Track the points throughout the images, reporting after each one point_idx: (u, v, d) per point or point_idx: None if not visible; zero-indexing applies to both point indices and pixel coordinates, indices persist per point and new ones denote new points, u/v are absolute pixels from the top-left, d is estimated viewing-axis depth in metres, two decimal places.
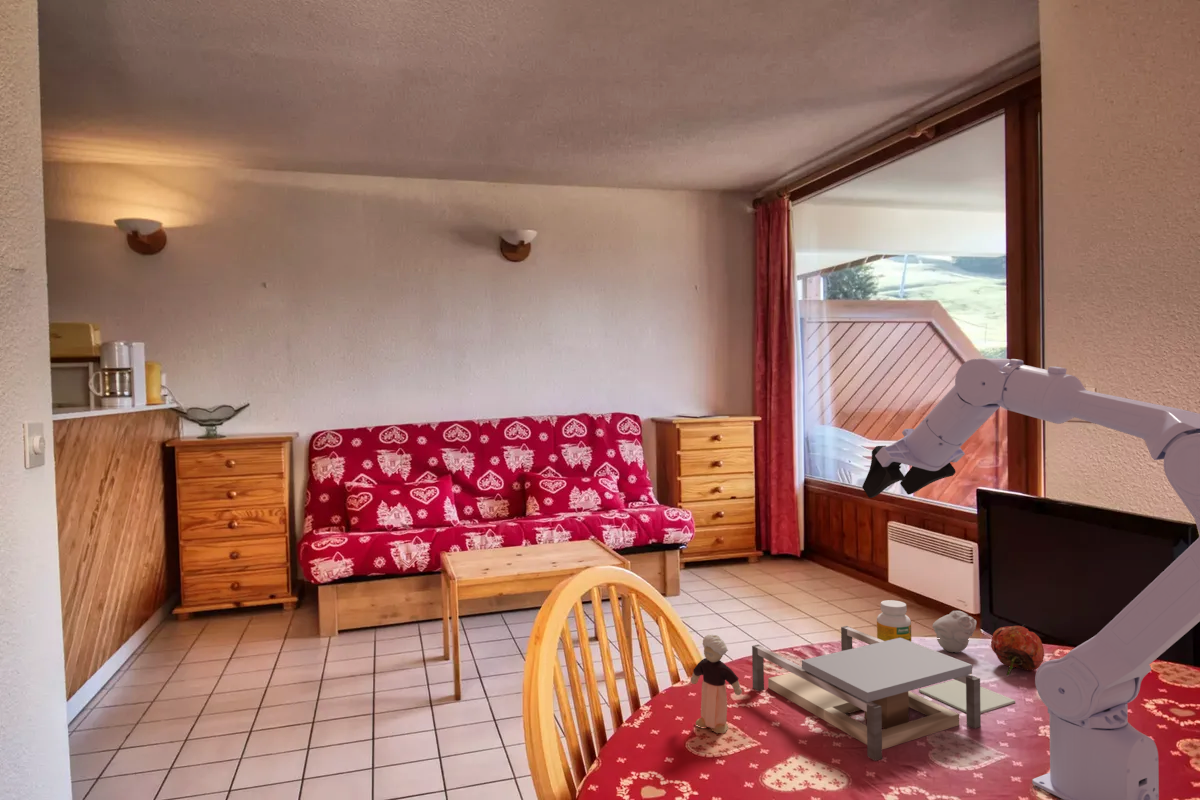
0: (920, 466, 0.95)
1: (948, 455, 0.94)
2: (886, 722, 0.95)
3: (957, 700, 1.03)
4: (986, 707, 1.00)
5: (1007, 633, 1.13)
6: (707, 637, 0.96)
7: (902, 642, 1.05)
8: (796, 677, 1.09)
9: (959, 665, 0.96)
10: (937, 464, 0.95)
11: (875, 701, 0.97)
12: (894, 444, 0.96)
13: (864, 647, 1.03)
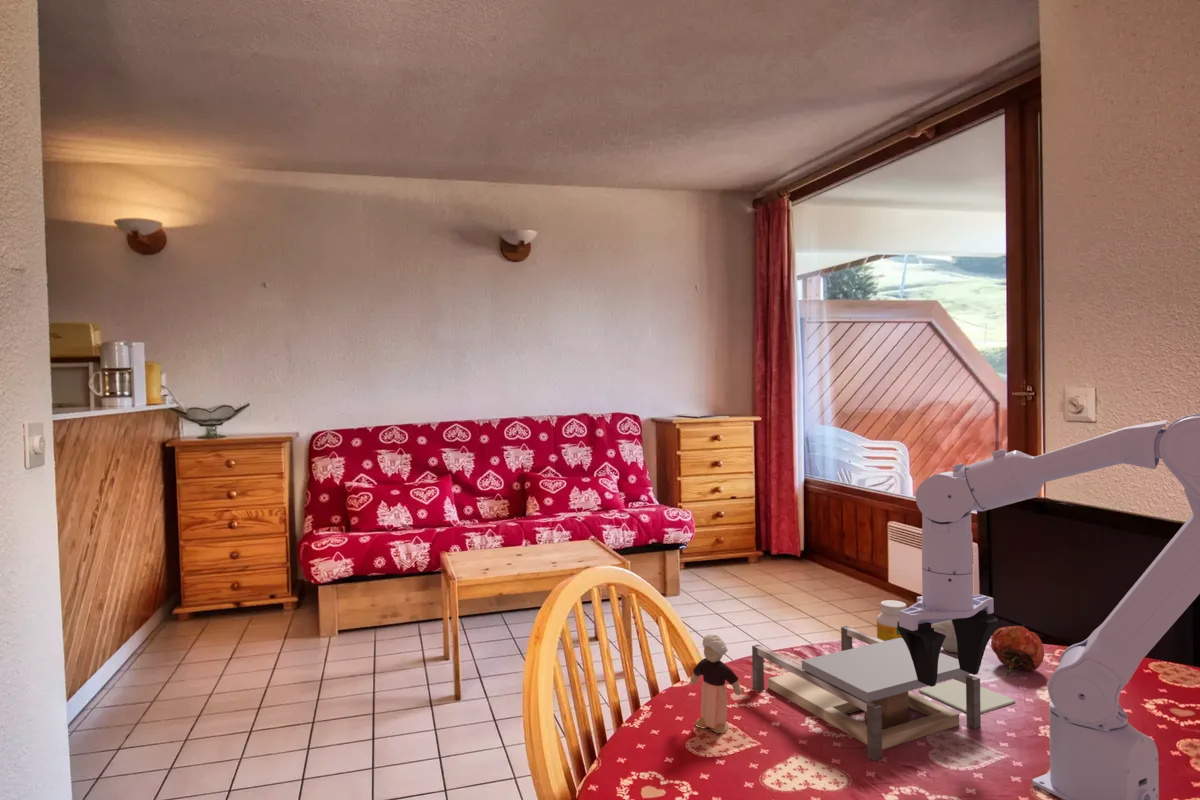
0: (950, 615, 0.85)
1: (967, 591, 0.86)
2: (886, 722, 0.95)
3: (957, 700, 1.03)
4: (986, 707, 1.00)
5: (1007, 633, 1.13)
6: (707, 637, 0.96)
7: (902, 642, 1.05)
8: (796, 677, 1.09)
9: None
10: (965, 607, 0.86)
11: (875, 701, 0.97)
12: (911, 607, 0.88)
13: (864, 647, 1.03)
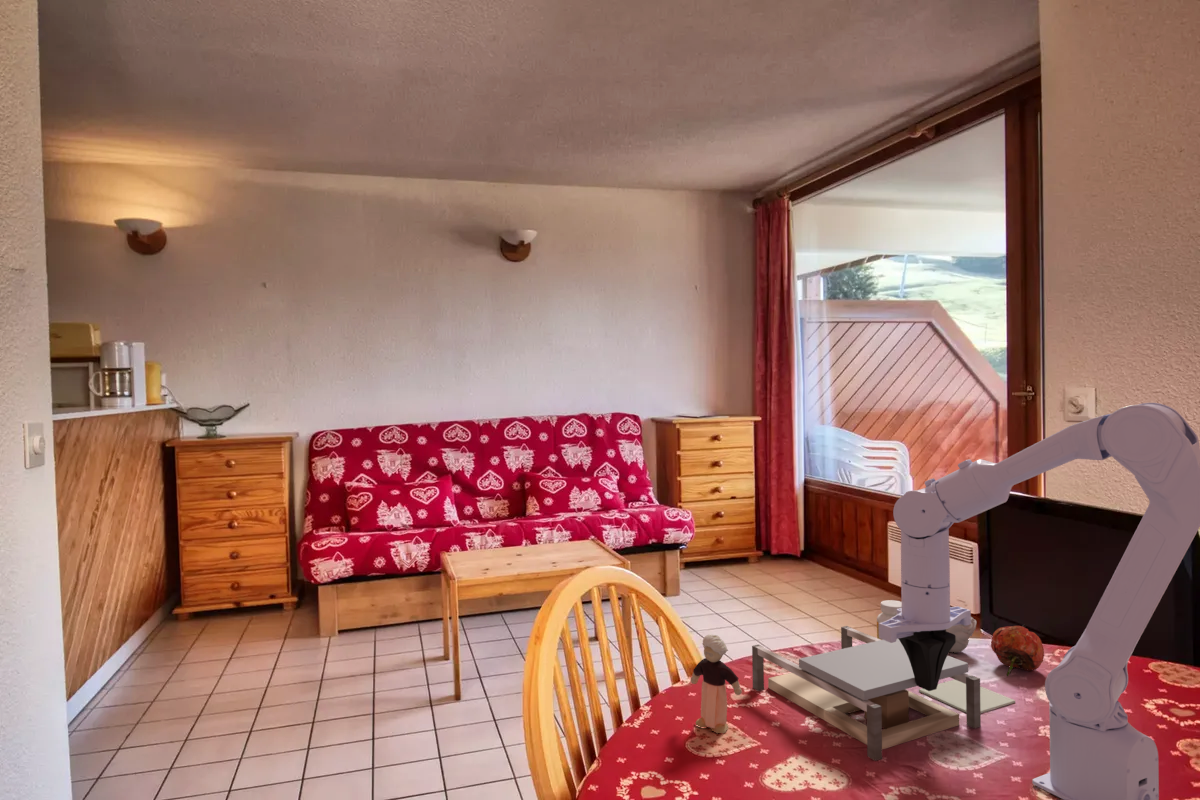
0: (927, 628, 0.88)
1: (944, 604, 0.89)
2: (886, 722, 0.95)
3: (957, 700, 1.03)
4: (986, 707, 1.00)
5: (1007, 633, 1.13)
6: (707, 637, 0.96)
7: (899, 641, 1.06)
8: (796, 677, 1.09)
9: (955, 663, 0.97)
10: (942, 619, 0.89)
11: (875, 701, 0.97)
12: (890, 619, 0.91)
13: (861, 646, 1.04)
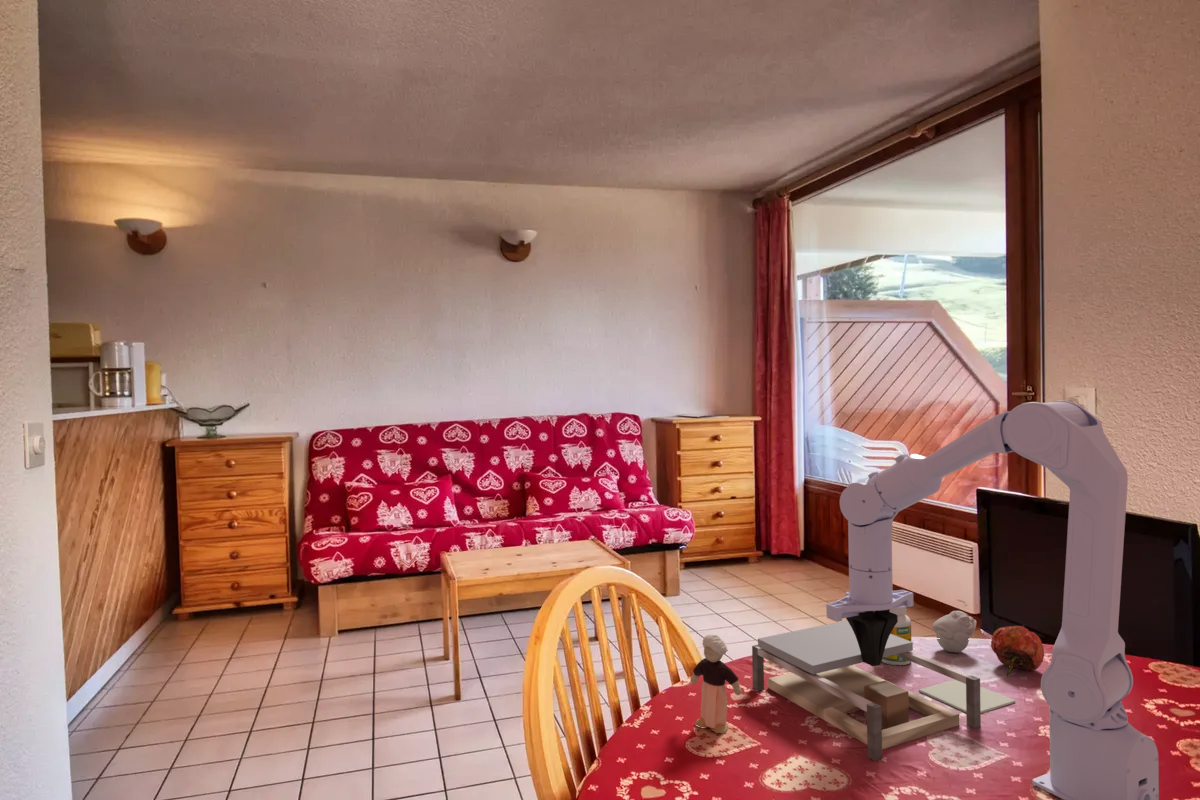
0: (870, 608, 0.97)
1: (886, 586, 0.97)
2: (886, 722, 0.95)
3: (957, 700, 1.03)
4: (986, 707, 1.00)
5: (1007, 633, 1.13)
6: (707, 637, 0.96)
7: None
8: (796, 677, 1.09)
9: (900, 642, 1.05)
10: (884, 600, 0.97)
11: (875, 701, 0.97)
12: (838, 601, 0.99)
13: (817, 627, 1.12)
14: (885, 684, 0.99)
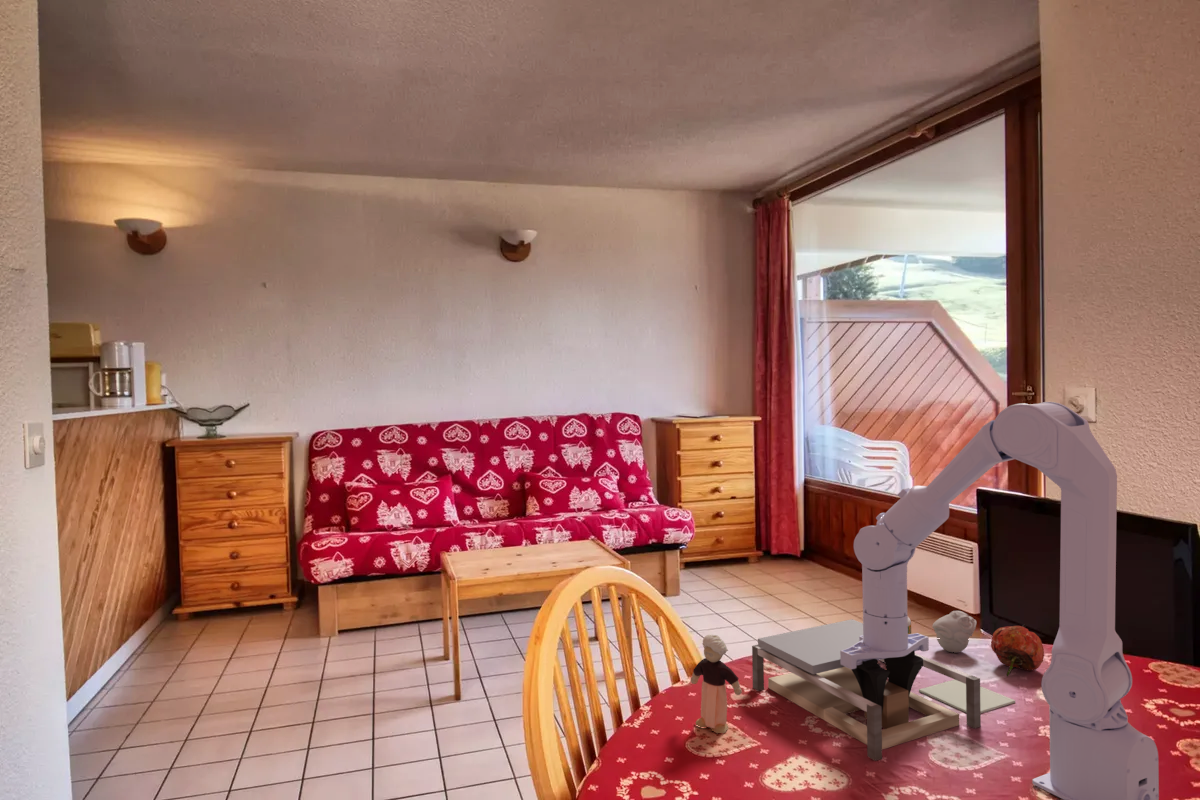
0: (885, 655, 0.94)
1: (902, 632, 0.95)
2: (886, 721, 0.95)
3: (957, 700, 1.03)
4: (986, 707, 1.00)
5: (1007, 633, 1.13)
6: (707, 637, 0.96)
7: (852, 623, 1.14)
8: (796, 677, 1.09)
9: None
10: (900, 647, 0.95)
11: None
12: (852, 646, 0.97)
13: (817, 627, 1.12)
14: None
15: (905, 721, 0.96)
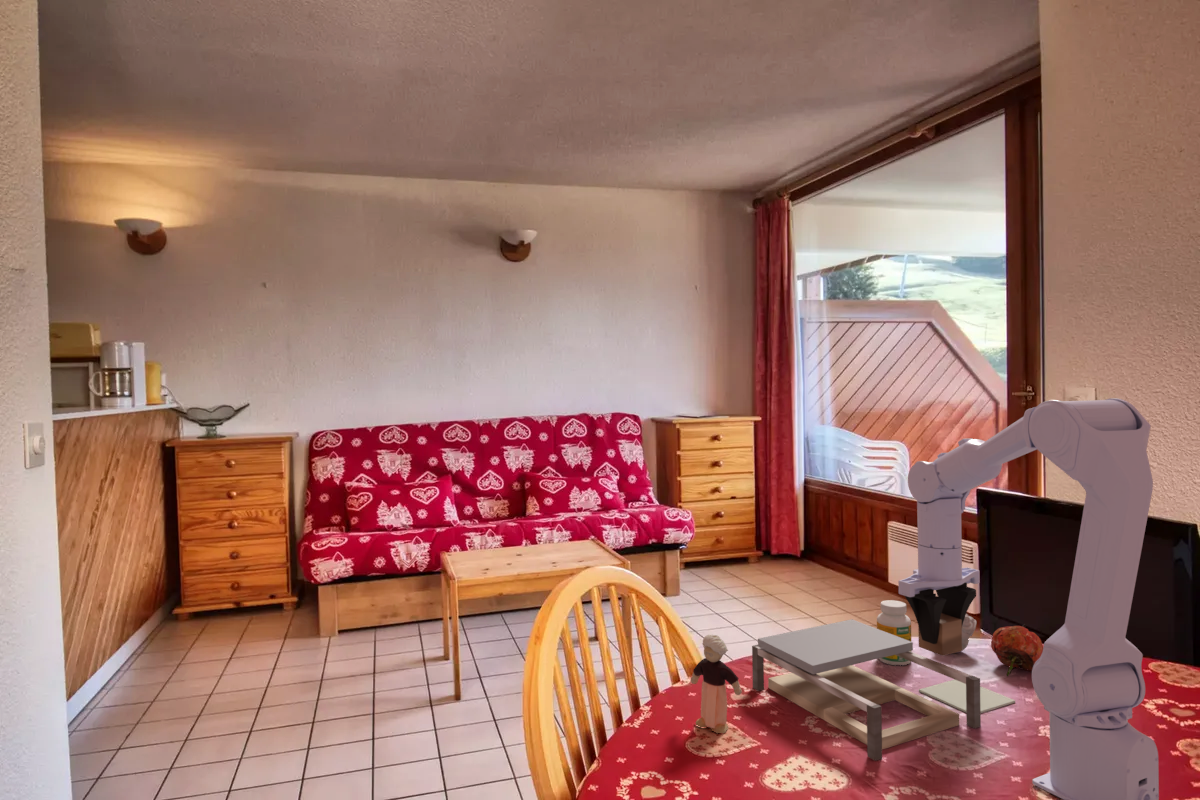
0: (942, 584, 0.99)
1: (957, 563, 0.99)
2: (942, 648, 1.00)
3: (957, 700, 1.03)
4: (986, 707, 1.00)
5: (1007, 633, 1.13)
6: (707, 637, 0.96)
7: (852, 623, 1.14)
8: (796, 677, 1.09)
9: (900, 642, 1.05)
10: (955, 577, 0.99)
11: None
12: (908, 577, 1.01)
13: (817, 627, 1.12)
14: None
15: (958, 648, 1.01)
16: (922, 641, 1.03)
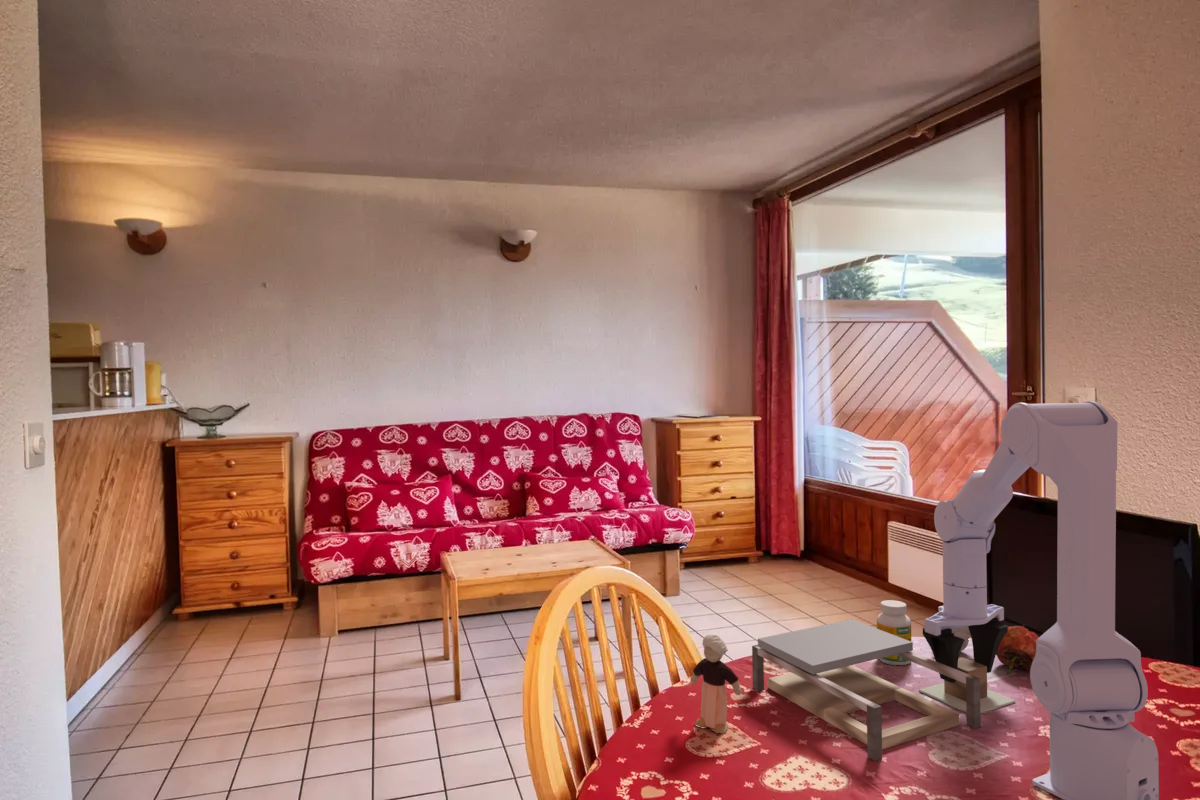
0: (967, 623, 1.01)
1: (982, 602, 1.02)
2: None
3: (957, 700, 1.03)
4: (986, 707, 1.00)
5: (1007, 633, 1.13)
6: (707, 637, 0.96)
7: (852, 623, 1.14)
8: (796, 677, 1.09)
9: (900, 642, 1.05)
10: (980, 615, 1.02)
11: None
12: (934, 615, 1.03)
13: (817, 627, 1.12)
14: (964, 660, 1.06)
15: (984, 695, 1.03)
16: (948, 687, 1.05)
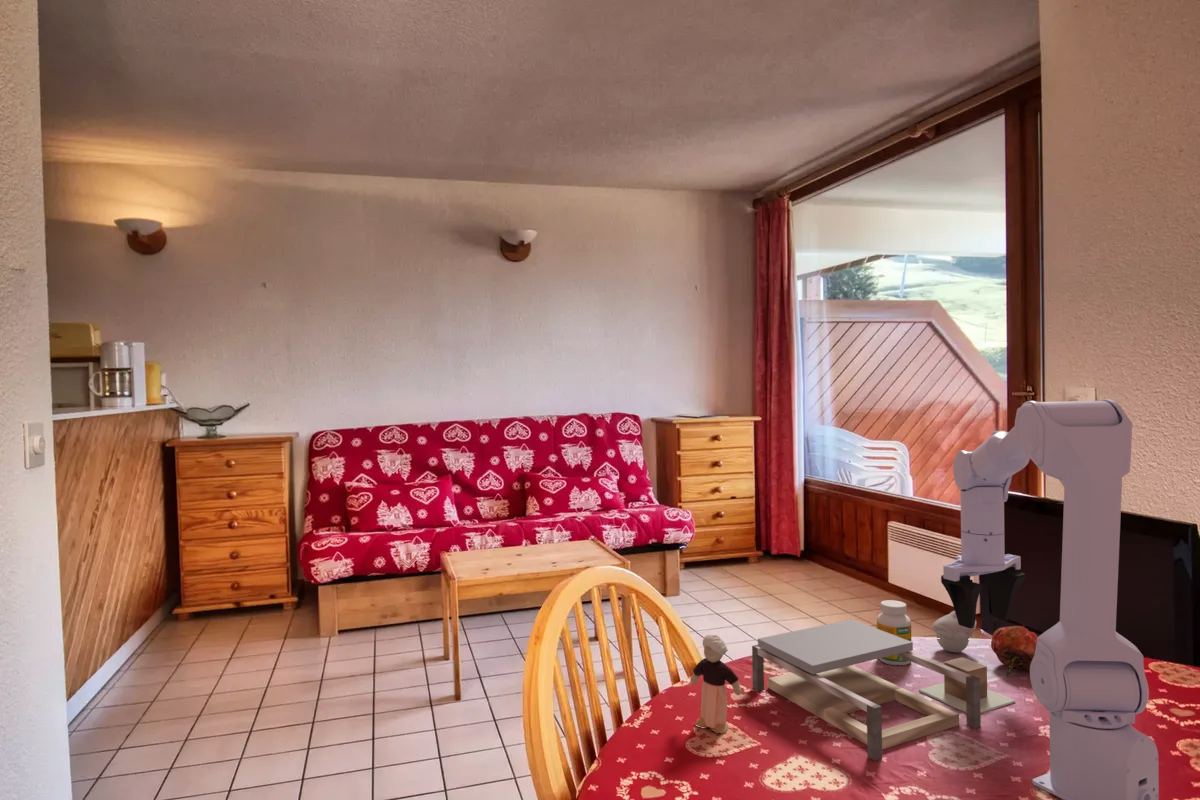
0: (986, 569, 1.03)
1: (1000, 548, 1.03)
2: None
3: (957, 700, 1.03)
4: (986, 707, 1.00)
5: (1007, 633, 1.13)
6: (707, 637, 0.96)
7: (852, 623, 1.14)
8: (796, 677, 1.09)
9: (900, 642, 1.05)
10: (998, 562, 1.03)
11: None
12: (953, 563, 1.05)
13: (817, 627, 1.12)
14: (964, 660, 1.06)
15: (984, 695, 1.03)
16: (948, 687, 1.05)
